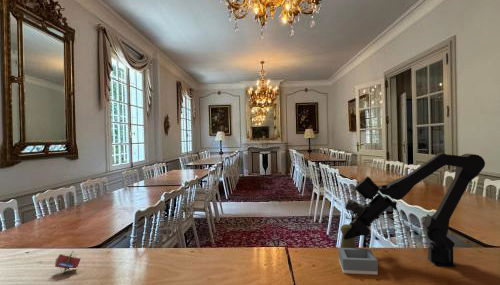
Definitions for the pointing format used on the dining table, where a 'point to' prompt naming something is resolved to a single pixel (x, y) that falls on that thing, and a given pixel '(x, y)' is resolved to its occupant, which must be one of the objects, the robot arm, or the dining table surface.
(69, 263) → the geometric puzzle
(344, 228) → the cork
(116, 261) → the dining table surface
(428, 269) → the dining table surface
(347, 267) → the box
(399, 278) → the dining table surface
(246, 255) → the dining table surface
